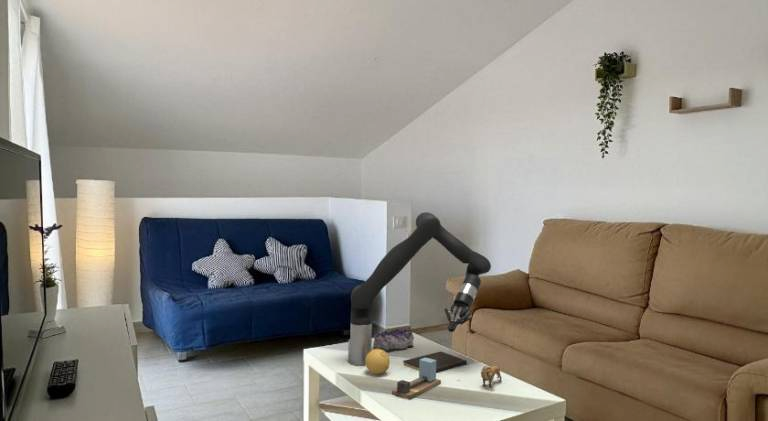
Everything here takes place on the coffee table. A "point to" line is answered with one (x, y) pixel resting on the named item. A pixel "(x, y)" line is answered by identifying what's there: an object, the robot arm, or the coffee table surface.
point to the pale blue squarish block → (427, 369)
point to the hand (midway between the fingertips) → (450, 330)
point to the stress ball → (377, 361)
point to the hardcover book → (437, 361)
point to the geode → (393, 340)
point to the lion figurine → (490, 374)
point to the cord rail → (414, 387)
